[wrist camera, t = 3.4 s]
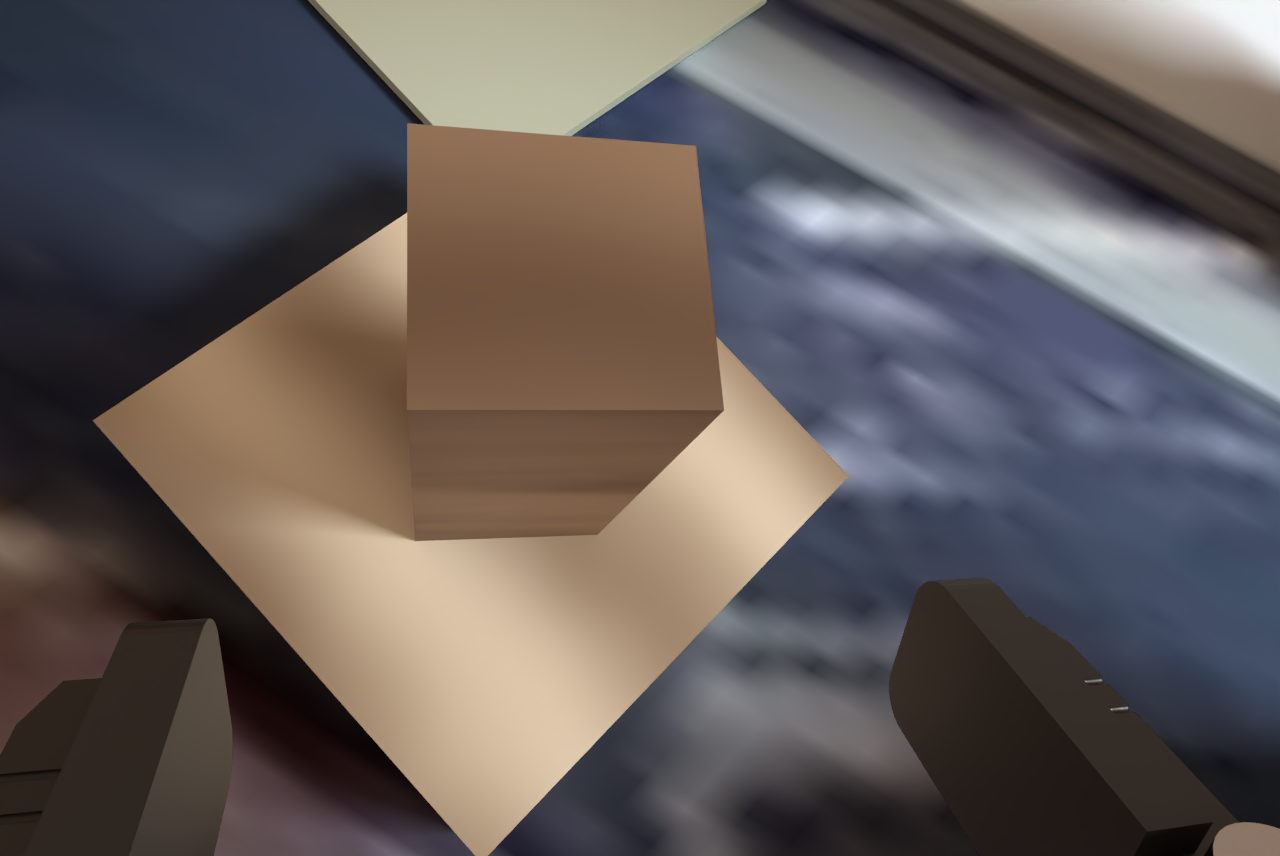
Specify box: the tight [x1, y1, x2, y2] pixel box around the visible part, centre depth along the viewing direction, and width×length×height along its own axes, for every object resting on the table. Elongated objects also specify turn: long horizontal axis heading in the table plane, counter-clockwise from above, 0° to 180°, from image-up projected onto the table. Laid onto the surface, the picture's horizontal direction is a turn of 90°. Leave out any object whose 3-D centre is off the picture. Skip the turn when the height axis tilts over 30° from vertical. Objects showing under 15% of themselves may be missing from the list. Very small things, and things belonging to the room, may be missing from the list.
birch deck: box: [93, 213, 848, 856], centre depth 22 cm, size 12×12×4 cm
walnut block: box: [407, 123, 724, 541], centre depth 16 cm, size 4×4×9 cm
